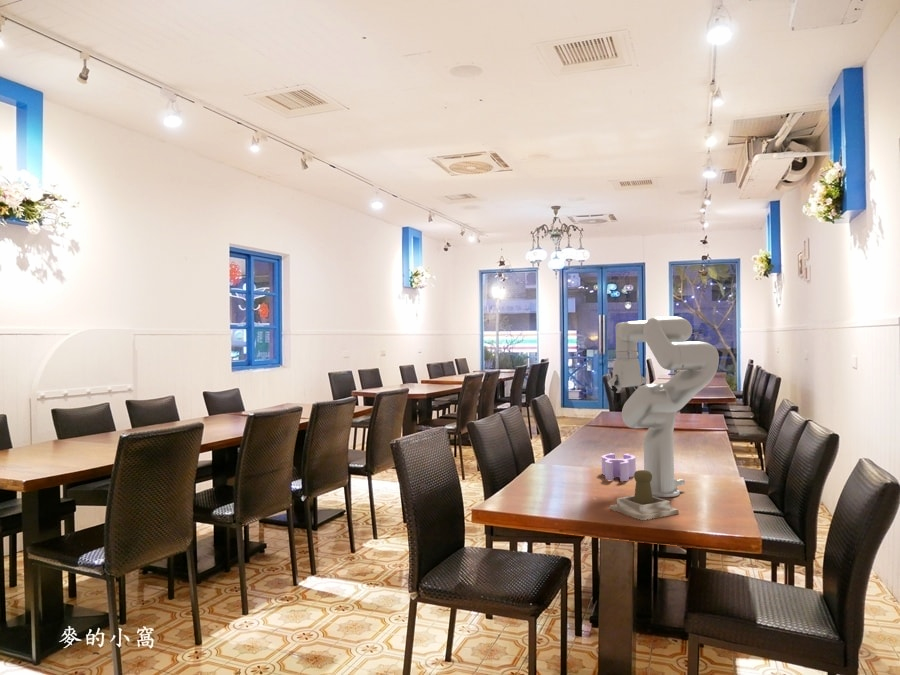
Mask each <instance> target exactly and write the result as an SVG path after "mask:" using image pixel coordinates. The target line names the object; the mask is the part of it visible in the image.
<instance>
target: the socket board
mask: <svg viewBox="0 0 900 675" xmlns="http://www.w3.org/2000/svg"><path fill="white" fill-rule="evenodd" d="M634 496H635V494H634V495H629V496H623V497H617V498H616V503H615V504H610V505H609V510H610V509H612V510H611V511H613V510H615V511H614V512H616V511H618V512H617V513H619V512H621V513H620V514H622V513H623V514H622V515H625V514H626V515H625V516H628V515H629V516H628V517H630V516H632V517H631V518H633V517H635V518H634V519H636V518H638V519H637V520H639V519H640V520H639V521H642V520H643V521H647V519H648V520H653V519H658V517H659V518H662V517H663V516H664V517H668V516H669V517H670V516H675V515H679V509H677V508H675V507H672V506H671V505H672V504H671V501H670V500H667V499H664V498H662V497H654V496H652V497H653V503H651V504H645V505H641V504H638V503H635V502H634ZM664 517H663V518H664ZM652 518H653V519H652Z"/></svg>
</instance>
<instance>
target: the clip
mask: <svg viewBox="0 0 900 675" xmlns="http://www.w3.org/2000/svg"><path fill="white" fill-rule="evenodd" d="M622 455H623V458H616V454H615V452H614V453H613V452H609V453H607V454H603V455H601V475H602V474H603V475H605V476H604V477H605V480H606V479H607V480H611V481H612V482H614V478H613V477H619V478H618V479H619V482H620V481H626V482H629V481H630V478H634V473H635V472H636V471H637V470H636V469H637V467H636V466H637V464H636V456H635V455H633V454H631V453H623V454H622ZM603 475H602V476H603ZM629 477H630V478H629ZM607 480H606V481H607ZM628 480H629V481H628ZM611 481H610V482H611Z"/></svg>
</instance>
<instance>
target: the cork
mask: <svg viewBox="0 0 900 675" xmlns="http://www.w3.org/2000/svg"><path fill="white" fill-rule="evenodd" d="M633 479H634V481H635V487H634V488H635V489H634V495H635V496H634V495H633V496H634V502H635V503H638V504H641V505H645V504H651V503H653V497H652V491H651V484H650V482H651V480H652V474H651V473H650V472H649V471H646V470H644V469H640V470H639V469H638V470H636V472H635V473H634V477H633Z"/></svg>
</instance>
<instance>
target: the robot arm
mask: <svg viewBox="0 0 900 675" xmlns="http://www.w3.org/2000/svg"><path fill="white" fill-rule="evenodd" d="M692 334H693V326H692V324H691V323H690V321H688V319H686V318H684V317H681V316H655V317H654V316H653V317H652V318H649V319H647V320H630V321H629V320H628V321H624V322H617V323H616V325H615V355H616V356H615V359H614V362H613V366H612V377H611V378H610V379H608V380H607V384H608V386H609V389H610V390H611V392H612V393H613V403H614V404H617V405H621V404H622V393H621V390H622V388H633V389H634V391H633V393H632V394H631V395H630V396H629V398H628V399H627V400H626V401H625V402H624V404H623V407H622V409H621V410H622V411H621V419H622V421H623V423H624V425H625V426H626V427H627V428H630V429H647V431H646V432H645V435H644V437H643V464H644V465H643V467H644V468H643V470H646V471H649V472H650V473H651V474H652V480H651V482H650V484H651V491H652V496H654V497H657V498H672V497H673V498H674V497H678V496H679V495H680V492H681V491H680V489H678V488H677V487H678V486H683V485H685V483H686V481H685V480H684V479H683V478H681V479H680V478H679V479H677V478H675V459H674V458H675V457H674V454H675V453H674V429H675V422H676V418H677V417H676V416H677V412H678V411H680V410H682V409H683V408H684V407H685V406H686V405H687V404H688V403H689V402H690V401H691V400H692V399H693V398H694V397H695V396H696V395H697V394H698V393H699V392H701V391H702V390H703V389H704V388H706V386H707V385H709V384H710V382H711V381H712V380H713V379H714V377H715V376H716V375H717V374H716V373H717V371H718V370H719V369H718V368H719V363H720V356H719V355H720V354H719V351H718V350H717V348H716V347H715V345H712V344H711V343H709V342H705V341H699V340H698V341H696V340H695V341H688V340H689V339H690V337H691V336H692ZM638 343H646V344H647V346H648V347H649V349H650V351H651V352H652V355H653V356H654V358H655V360H656V362H657V363H658V365H659V366H660V367H662V369H664V370H667V371H678V372H677V373H675V374H674V375H673V376H672V377H671V378H670V379H669V380H668V381H667V382H663V383H662V382H661V383H647V378H646V377H645V376H643V375H642V373H641V366H640V360H639V359H638V357H639V355H640V353H639V352H638Z"/></svg>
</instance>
